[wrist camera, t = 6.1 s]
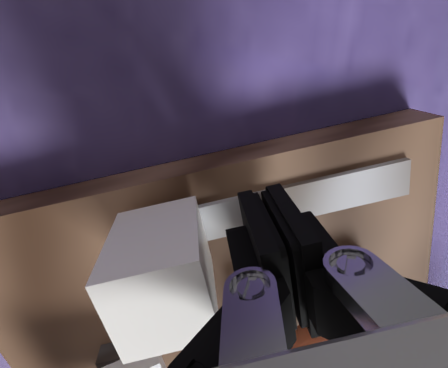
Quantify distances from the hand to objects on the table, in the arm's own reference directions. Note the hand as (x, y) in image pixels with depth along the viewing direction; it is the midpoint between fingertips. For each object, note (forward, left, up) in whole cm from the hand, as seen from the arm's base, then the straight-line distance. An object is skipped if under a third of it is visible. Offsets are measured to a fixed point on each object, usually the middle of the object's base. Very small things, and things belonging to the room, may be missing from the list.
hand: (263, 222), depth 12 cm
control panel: (+3, +4, -3) cm, 6 cm away
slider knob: (+4, 0, -1) cm, 4 cm away
